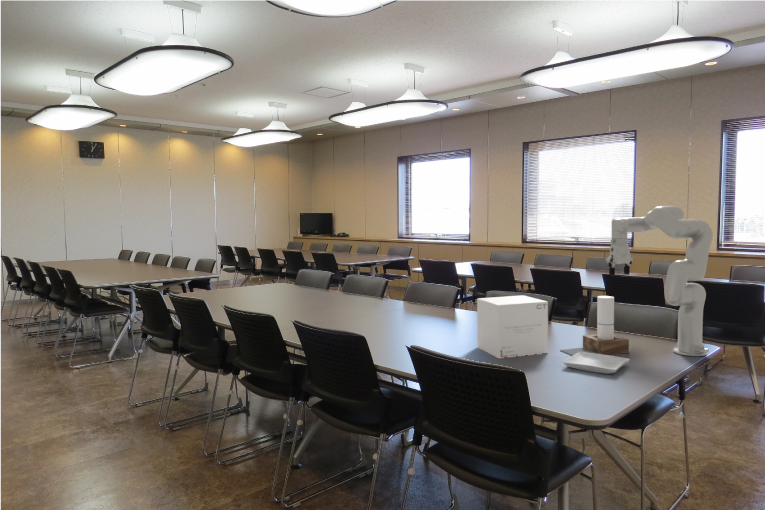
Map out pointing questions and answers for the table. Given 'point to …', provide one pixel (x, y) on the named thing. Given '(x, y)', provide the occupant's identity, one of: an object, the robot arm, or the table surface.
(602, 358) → the salad plate
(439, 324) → the table surface
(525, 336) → the cube
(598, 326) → the cylindrical container
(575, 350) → the mat
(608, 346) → the collar
